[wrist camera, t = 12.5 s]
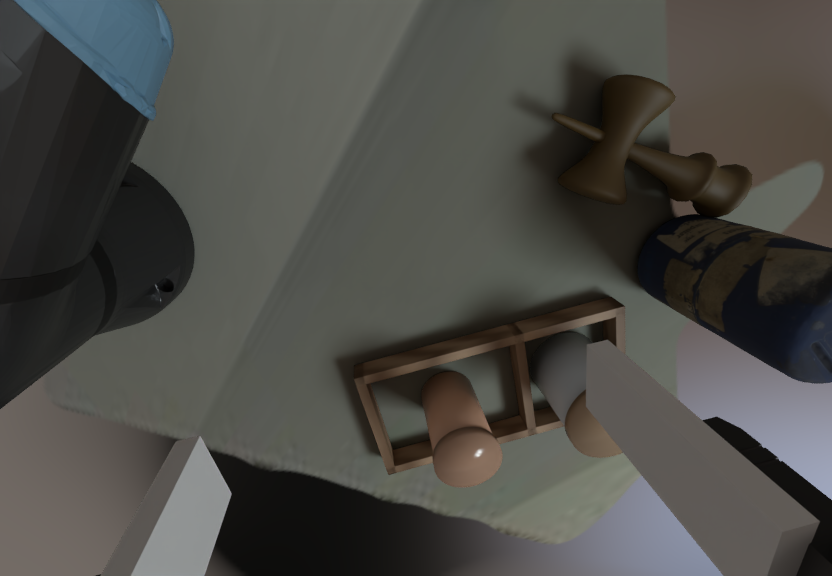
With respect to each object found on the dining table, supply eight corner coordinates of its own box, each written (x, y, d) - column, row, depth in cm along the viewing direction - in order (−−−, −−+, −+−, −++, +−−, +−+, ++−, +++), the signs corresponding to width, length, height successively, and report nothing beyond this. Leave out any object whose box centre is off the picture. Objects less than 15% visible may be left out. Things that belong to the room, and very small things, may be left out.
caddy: (387, 458, 47) (388, 474, 45) (354, 365, 41) (353, 379, 39) (613, 395, 48) (625, 409, 46) (610, 296, 42) (625, 306, 40)
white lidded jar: (531, 400, 46) (572, 467, 37) (523, 341, 43) (566, 398, 34) (599, 381, 47) (656, 443, 38) (596, 321, 43) (659, 373, 34)
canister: (700, 192, 39) (949, 239, 22) (724, 263, 42) (953, 349, 26) (616, 246, 40) (794, 329, 24) (647, 311, 44) (820, 423, 27)
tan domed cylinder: (425, 421, 46) (441, 494, 36) (413, 378, 43) (427, 445, 34) (477, 407, 46) (506, 476, 37) (468, 363, 43) (497, 426, 34)
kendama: (675, 233, 41) (513, 170, 36) (726, 142, 38) (559, 58, 33) (725, 248, 35) (543, 176, 30) (790, 143, 33) (601, 43, 27)
